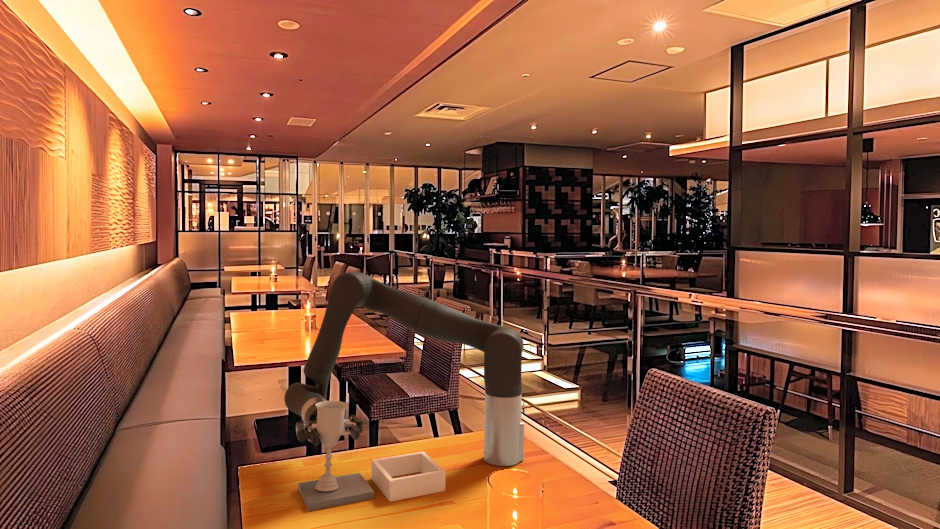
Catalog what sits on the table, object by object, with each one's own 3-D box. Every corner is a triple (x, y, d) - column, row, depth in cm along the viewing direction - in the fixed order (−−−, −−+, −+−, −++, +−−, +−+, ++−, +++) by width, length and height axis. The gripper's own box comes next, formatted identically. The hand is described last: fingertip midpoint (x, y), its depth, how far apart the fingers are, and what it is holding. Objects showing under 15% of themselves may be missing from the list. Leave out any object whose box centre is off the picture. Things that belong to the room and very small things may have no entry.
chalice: (334, 495, 128) (339, 409, 128) (304, 490, 130) (309, 406, 130) (348, 483, 135) (352, 402, 135) (319, 479, 137) (324, 399, 137)
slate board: (359, 479, 141) (359, 472, 141) (374, 498, 131) (374, 491, 131) (298, 489, 135) (297, 483, 135) (308, 511, 125) (308, 503, 125)
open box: (423, 469, 147) (423, 451, 147) (445, 490, 135) (445, 471, 135) (371, 478, 141) (371, 459, 141) (389, 501, 130) (390, 481, 129)
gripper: (289, 404, 142) (303, 425, 127) (349, 397, 148) (369, 416, 134) (289, 436, 142) (303, 460, 128) (349, 427, 149) (369, 450, 134)
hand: (337, 438), depth 131 cm, fingers open, 8 cm apart
